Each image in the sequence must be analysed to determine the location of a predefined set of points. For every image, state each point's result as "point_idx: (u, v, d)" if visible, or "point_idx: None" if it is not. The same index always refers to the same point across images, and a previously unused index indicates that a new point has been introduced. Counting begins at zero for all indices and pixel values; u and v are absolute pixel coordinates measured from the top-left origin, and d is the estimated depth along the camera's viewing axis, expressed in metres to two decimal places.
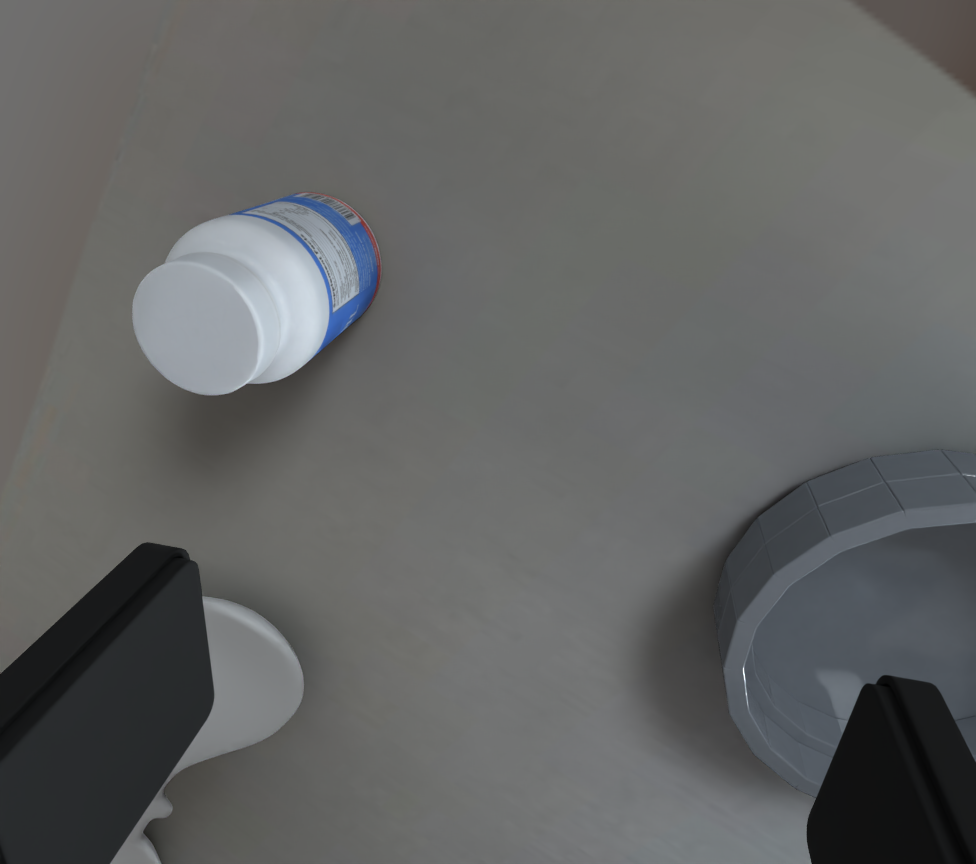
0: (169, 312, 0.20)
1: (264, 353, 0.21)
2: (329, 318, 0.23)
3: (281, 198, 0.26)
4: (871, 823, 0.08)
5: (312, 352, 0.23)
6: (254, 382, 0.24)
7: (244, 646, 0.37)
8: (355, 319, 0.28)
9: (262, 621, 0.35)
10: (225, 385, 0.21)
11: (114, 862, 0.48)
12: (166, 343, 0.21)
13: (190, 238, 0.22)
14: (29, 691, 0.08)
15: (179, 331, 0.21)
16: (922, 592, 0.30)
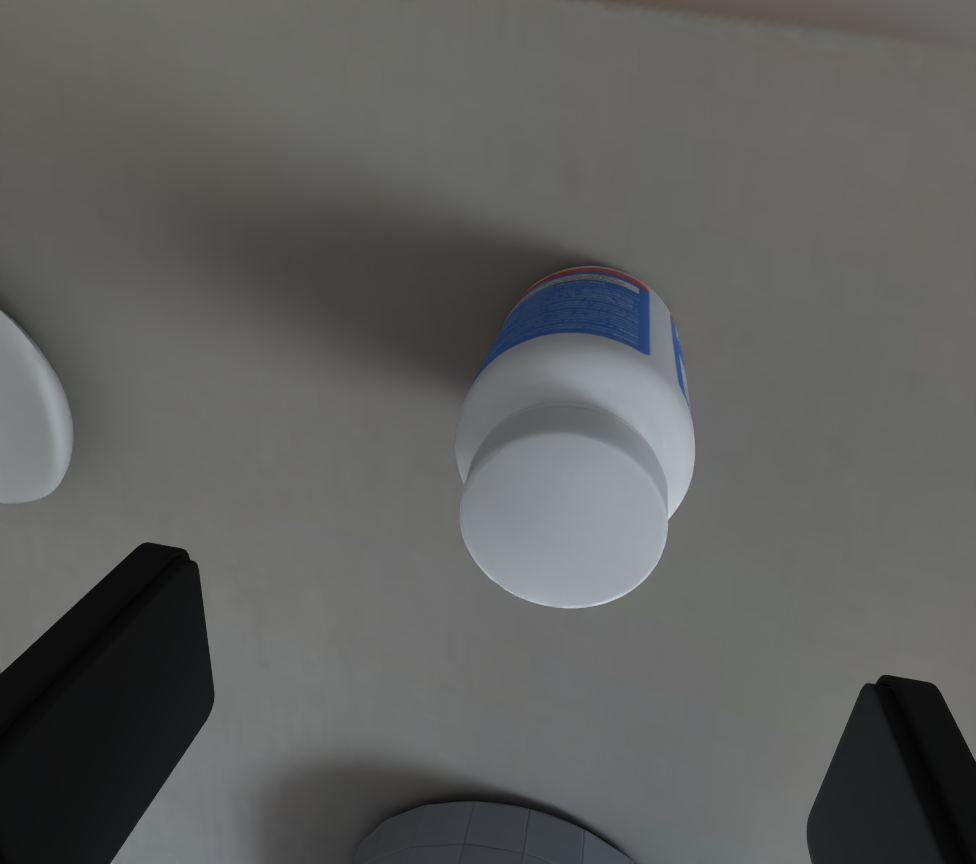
0: (572, 489, 0.13)
1: (567, 601, 0.15)
2: None
3: (672, 330, 0.19)
4: (871, 823, 0.08)
5: None
6: None
7: (9, 414, 0.26)
8: None
9: (69, 437, 0.25)
10: (498, 574, 0.14)
11: None
12: (519, 490, 0.13)
13: (647, 391, 0.15)
14: (29, 691, 0.08)
15: (548, 505, 0.13)
16: None
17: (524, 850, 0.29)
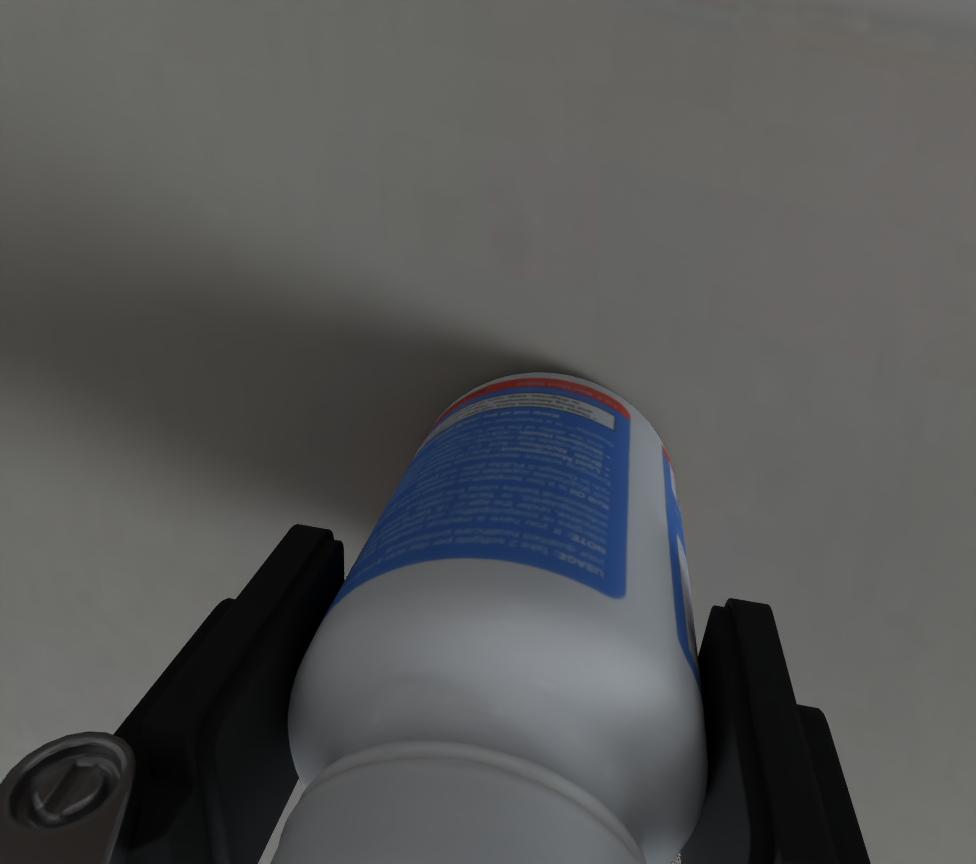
0: None
1: None
2: None
3: (666, 486, 0.12)
4: (706, 724, 0.09)
5: None
6: None
7: None
8: None
9: None
10: None
11: None
12: None
13: (620, 692, 0.08)
14: (233, 655, 0.08)
15: None
16: None
17: None
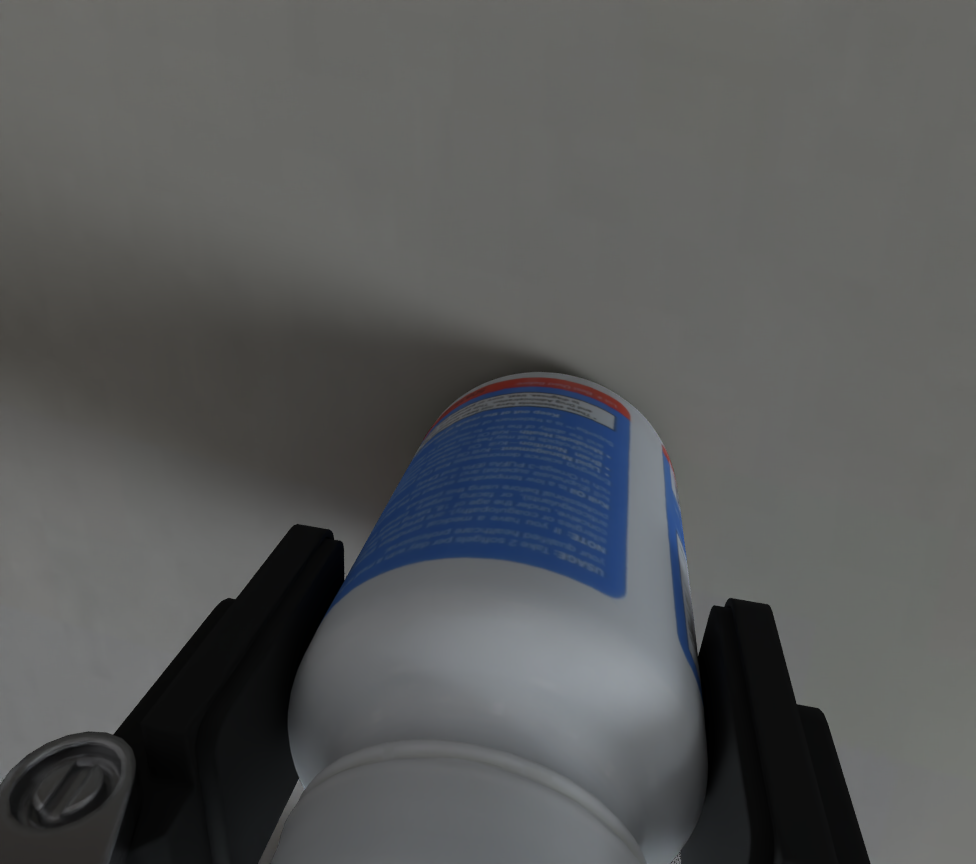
0: None
1: None
2: None
3: (666, 485, 0.12)
4: (706, 724, 0.09)
5: None
6: None
7: None
8: None
9: None
10: None
11: None
12: None
13: (620, 691, 0.08)
14: (233, 655, 0.08)
15: None
16: None
17: None
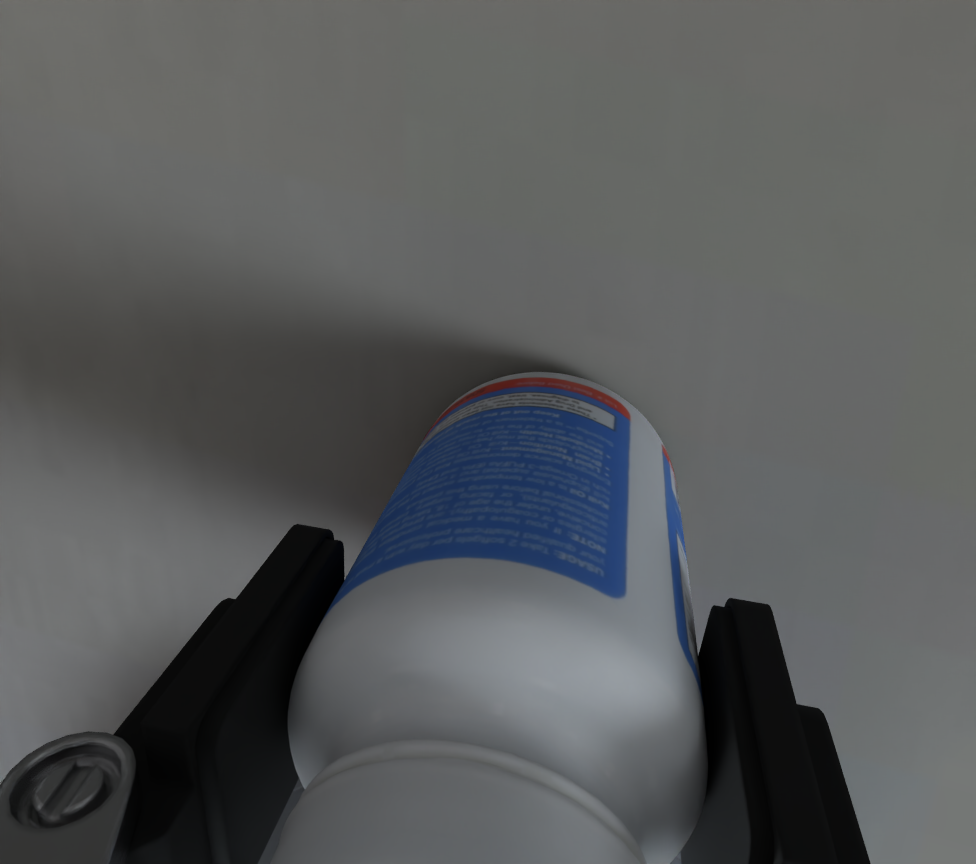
0: None
1: None
2: None
3: (666, 485, 0.12)
4: (706, 724, 0.09)
5: None
6: None
7: None
8: None
9: None
10: None
11: None
12: None
13: (620, 691, 0.08)
14: (233, 655, 0.08)
15: None
16: None
17: None
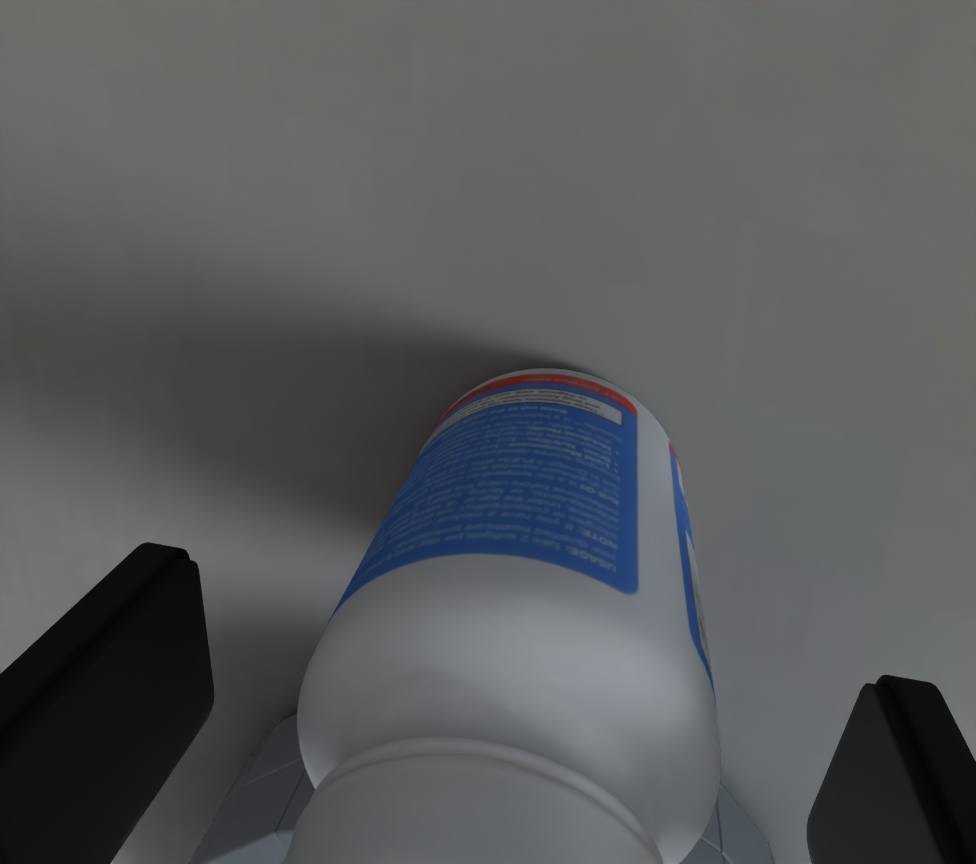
0: None
1: None
2: None
3: (673, 482, 0.12)
4: (871, 823, 0.08)
5: None
6: None
7: None
8: None
9: None
10: None
11: None
12: None
13: (634, 688, 0.08)
14: (29, 691, 0.08)
15: None
16: None
17: None
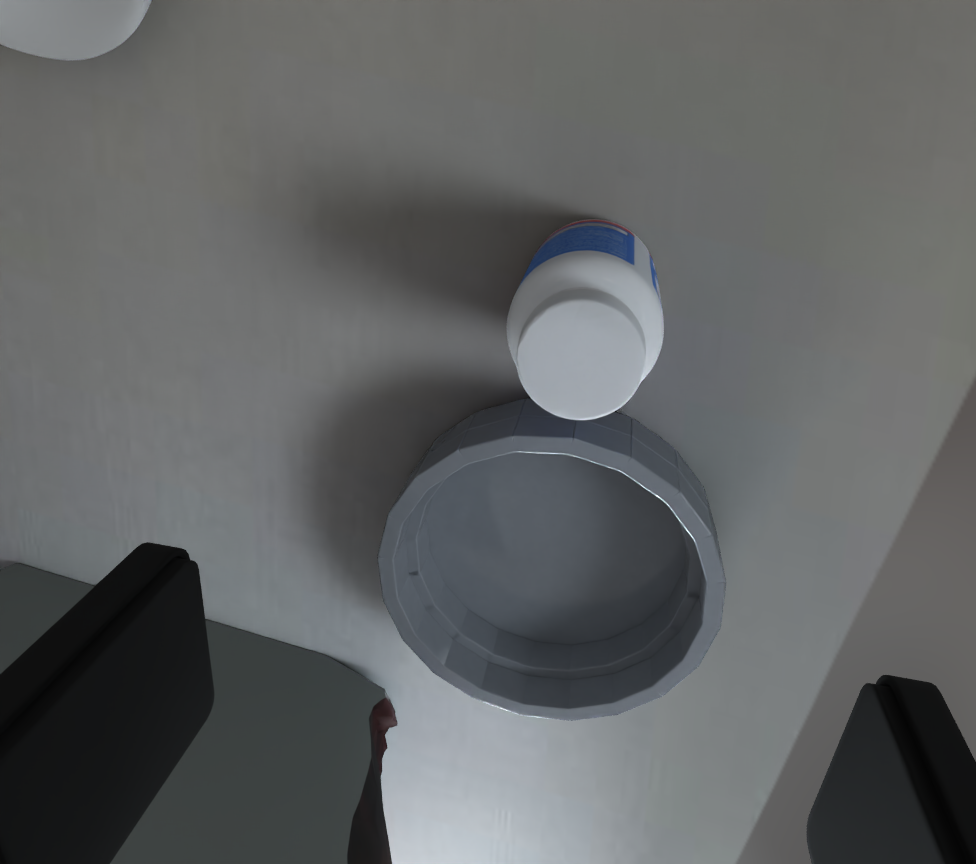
0: (587, 336, 0.22)
1: (582, 417, 0.23)
2: None
3: (650, 261, 0.28)
4: (871, 823, 0.08)
5: None
6: None
7: None
8: None
9: None
10: (540, 397, 0.23)
11: None
12: (554, 339, 0.22)
13: (632, 284, 0.23)
14: (29, 691, 0.08)
15: (572, 348, 0.22)
16: (577, 541, 0.36)
17: None
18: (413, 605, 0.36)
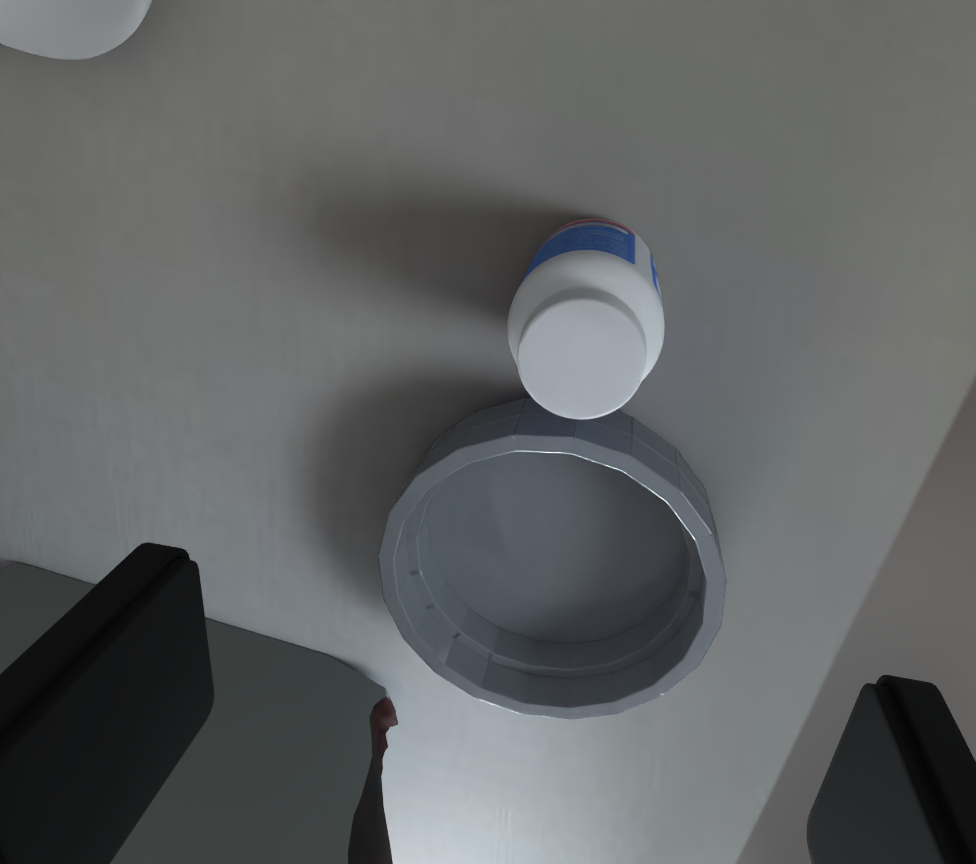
0: (587, 335, 0.22)
1: (583, 416, 0.23)
2: None
3: (651, 260, 0.28)
4: (871, 823, 0.08)
5: None
6: None
7: None
8: None
9: None
10: (540, 397, 0.23)
11: None
12: (555, 338, 0.22)
13: (633, 283, 0.23)
14: (29, 691, 0.08)
15: (573, 347, 0.22)
16: (578, 541, 0.36)
17: None
18: (414, 604, 0.36)
